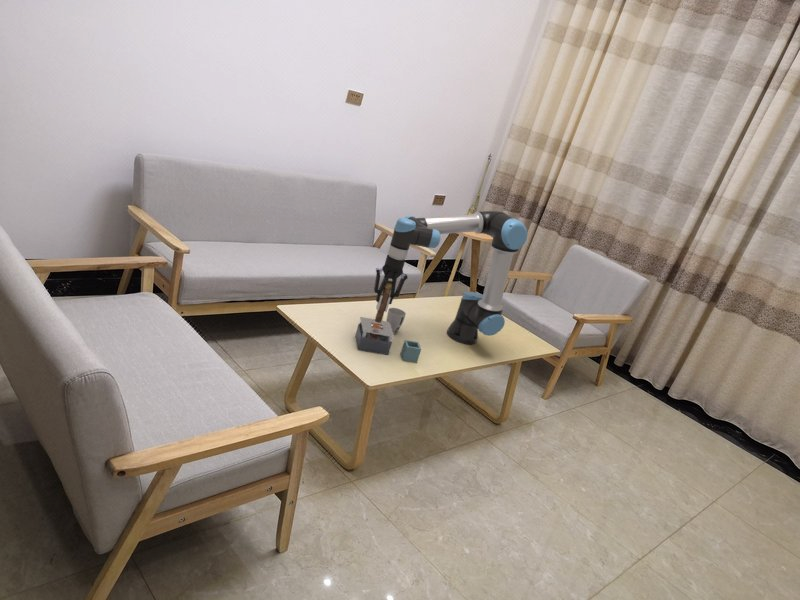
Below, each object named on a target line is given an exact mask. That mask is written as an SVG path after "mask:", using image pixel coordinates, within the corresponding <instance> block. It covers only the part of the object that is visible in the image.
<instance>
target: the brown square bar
mask: <svg viewBox="0 0 800 600" xmlns="http://www.w3.org/2000/svg"><path fill="white" fill-rule="evenodd" d="M391 287H392V280H390V279H388V281H387V283H386V285H385V287H384V290H383V292H382V295H383V297H382V300H381V304H380V307H379V310H376V311H377V312H376V315H375V318H374V319H375V321H376V322H378V323H381V322H382V321H383V318H384V313H385V308H386V304H387V301H388V297H389V295H390V292H391Z"/></svg>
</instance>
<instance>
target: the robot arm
mask: <svg viewBox="0 0 800 600" xmlns="http://www.w3.org/2000/svg"><path fill="white" fill-rule="evenodd" d="M472 232H473V233H475V234H476V235H479V234H483V235H487V236H490V237H491V238H492V239H491V240H492V241H491V248H492V249H493V250H492V251H493V252H492V257H491V261H490V265H489V267H488V268H489V269H488V274H487V277H486V280H485V281H486V282H485V285H484V289H483V294H482V293H480V292H479V293H478V292H474V291H465V292H464V293H463V295H462V297H461V300H460V302H459V306H458V309H457V311H456V314H455V318H454V320H453V321H452V322H451V323H450V325H449V326H448V327H447V330H446V335H447V336H448V337H450V338H451V339H452V340H454V341H456V342H459V343H462V344H466V345H474V344H476V343H477V342H478V339H479V338H478V336H479V335H478V334H479V332H480V333H482V334H483V335H485V336H487V337H488V336H494V335H496V334H498V333H499V332H501V331H502V330H503V328H504V326H505V318H504V316H503V315H502V314H503V310H504V306H503V305H502V301H503V300H502V299H503V296H504V292H505V288H506V285H507V280H508V277H509V272H510V268H511V265H512V262H513V257H514V254H516V253H518V252H519V249H521V248H522V247H523V245H525V244H526V242H527V239H528V229H527V227H526V225H525V224H524V223H523V222H521V221H520V220H519V219H517V218H514V217H512V216H511V215H509V214H507V213H506V212H503V211H498V210H486V211H485V210H484V211H475V212H474V213H473V214H460V215H457V214H456V215H444V216H431V217H415V216H412V215H405V216H404V217H400V218H398V219H397V220H396V223H395V225H394V229H393V234H392V236H391V241H390V244H389V247H388V250H387V255H386V257H385V262H384V265H382V267H380V268H379V267H376V268H375V274H376V275H375V281H374V287H373V292H374V293H375V294H377V295H376V298H375V301H376V303H377V304H376V311H378V310H379V307H380V304H381V300H382V297H383V295H382V293H383V290H384V287H385V285H386V283H387V281H388V280H390V279H391V281H392V287H391V290H390V294H389V297H388V301H387V304H386V308H385V311H384V313H388V310H389V305H392V304H393V300H394V299H395V298H398V297H399V295H400V294H401V291H402V288H403V287H404V283H405V281H407V279H408V277H409V276H408V274H407V273H405V272H404V271H403V269H404V266H405V262H406V259H407V256H408V252H409V249H410V246H417V247H421V248H427V249H435V248H437V247H438V246H439V244H440V242H441V235H447V234H448V235H449V234H450V235H451V234H459V233H472ZM382 272H383V279H382V281H381V284H380V280H381V275H382ZM399 277H400V279H399V282H398V285H397V284H396V283H397V280H398V278H399ZM379 285H380V286H379ZM396 285H397V287H396Z"/></svg>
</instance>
